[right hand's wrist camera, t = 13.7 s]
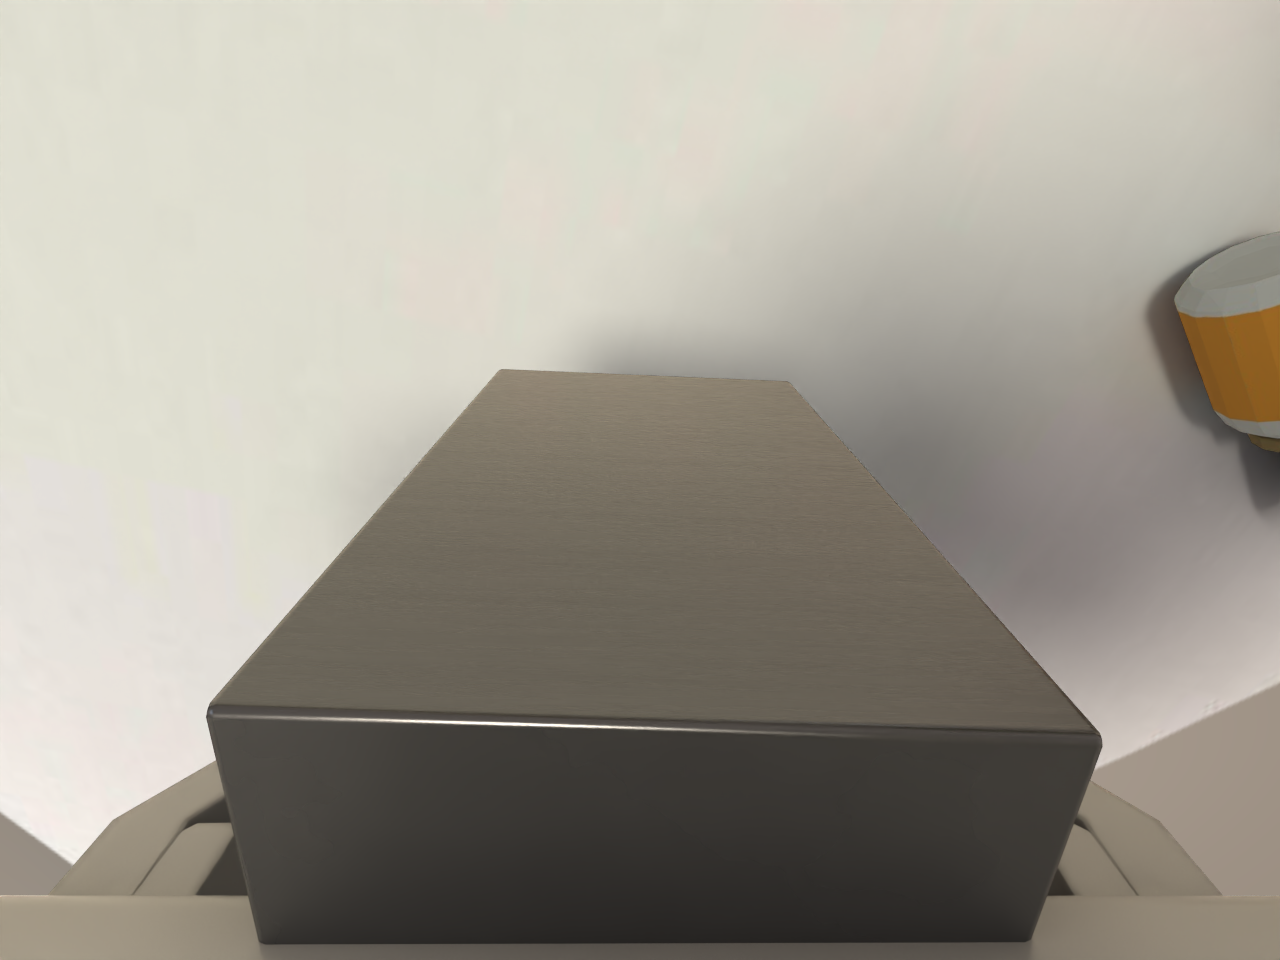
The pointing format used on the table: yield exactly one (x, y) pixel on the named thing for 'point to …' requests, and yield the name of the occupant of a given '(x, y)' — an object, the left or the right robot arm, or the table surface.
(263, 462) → the table surface
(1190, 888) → the right robot arm
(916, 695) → the box
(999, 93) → the table surface
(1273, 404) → the spray gun
